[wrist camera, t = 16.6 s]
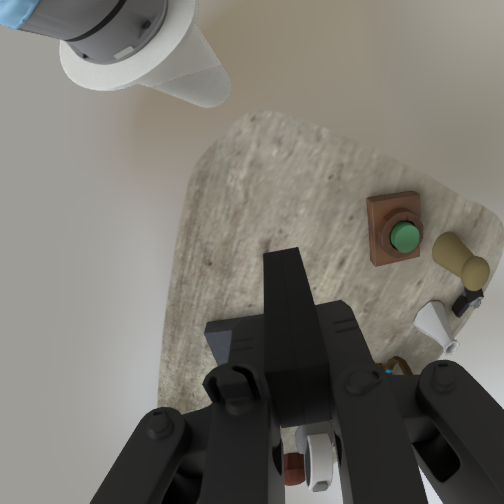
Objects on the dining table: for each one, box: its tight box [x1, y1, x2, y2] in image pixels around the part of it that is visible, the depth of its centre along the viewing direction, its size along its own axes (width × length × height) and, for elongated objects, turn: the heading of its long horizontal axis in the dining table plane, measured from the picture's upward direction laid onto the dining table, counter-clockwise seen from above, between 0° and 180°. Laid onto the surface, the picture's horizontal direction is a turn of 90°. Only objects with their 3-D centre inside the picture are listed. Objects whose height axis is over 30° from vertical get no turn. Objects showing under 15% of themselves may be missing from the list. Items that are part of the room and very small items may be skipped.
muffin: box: [284, 453, 306, 486], centre depth 65 cm, size 12×11×10 cm
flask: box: [413, 301, 459, 355], centre depth 40 cm, size 7×7×10 cm
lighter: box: [452, 286, 484, 318], centre depth 41 cm, size 8×2×5 cm
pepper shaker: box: [432, 232, 490, 291], centre depth 34 cm, size 6×6×11 cm
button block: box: [366, 191, 423, 267], centre depth 36 cm, size 10×8×4 cm
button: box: [390, 221, 420, 253], centre depth 34 cm, size 4×4×2 cm
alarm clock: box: [295, 421, 334, 492], centre depth 53 cm, size 16×10×18 cm, turn 4°
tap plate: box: [204, 314, 264, 366], centre depth 47 cm, size 12×10×3 cm
